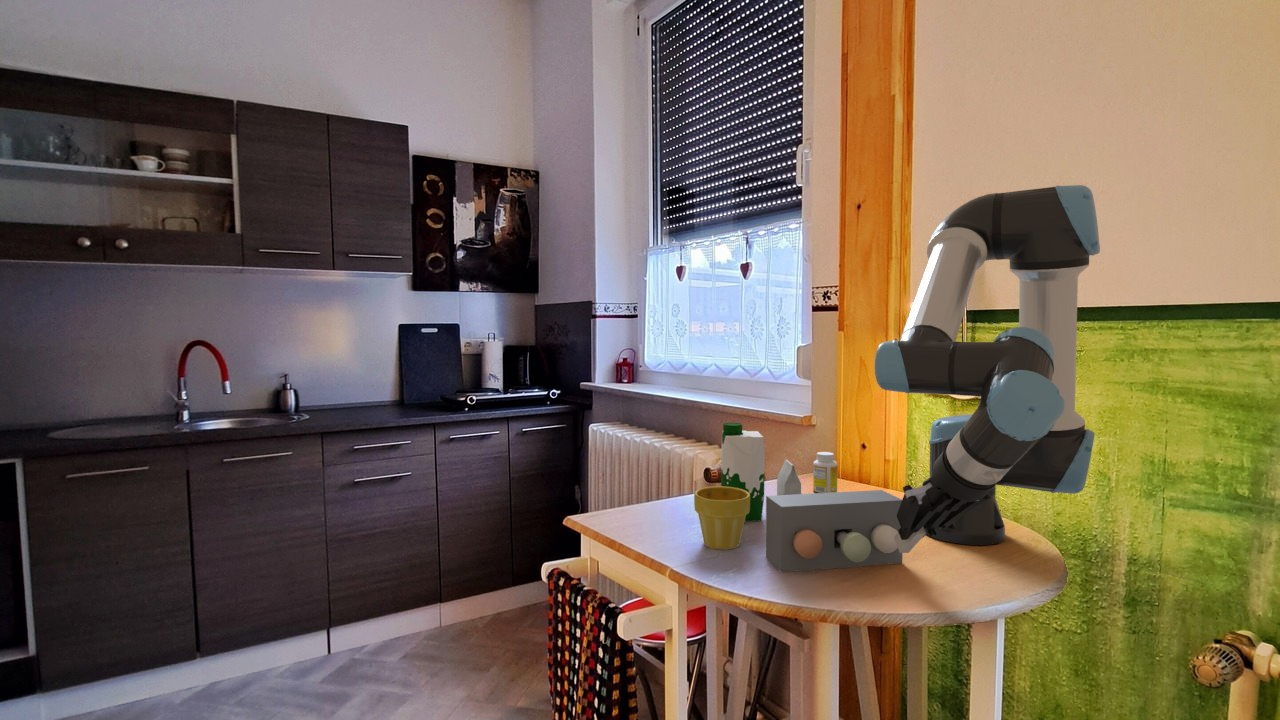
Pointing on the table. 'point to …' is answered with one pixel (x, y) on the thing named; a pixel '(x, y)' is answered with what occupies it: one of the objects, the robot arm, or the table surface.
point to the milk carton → (744, 465)
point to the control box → (828, 527)
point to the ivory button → (884, 538)
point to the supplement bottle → (824, 473)
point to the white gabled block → (788, 480)
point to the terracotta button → (807, 543)
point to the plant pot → (722, 515)
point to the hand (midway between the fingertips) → (901, 545)
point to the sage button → (853, 545)
